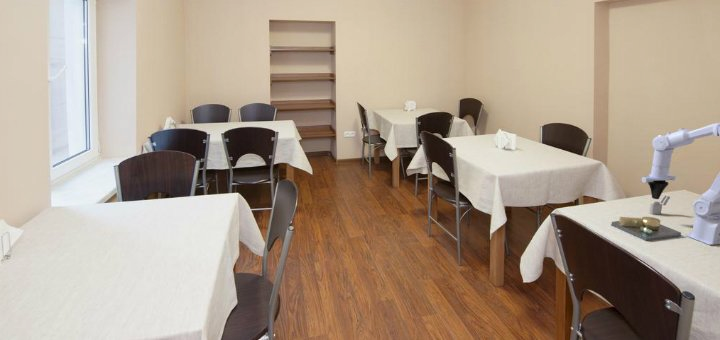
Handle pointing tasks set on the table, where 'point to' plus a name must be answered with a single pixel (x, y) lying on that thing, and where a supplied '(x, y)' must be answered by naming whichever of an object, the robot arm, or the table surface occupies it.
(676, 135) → the robot arm
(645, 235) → the base plate
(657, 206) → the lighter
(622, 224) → the gold elongated piece
